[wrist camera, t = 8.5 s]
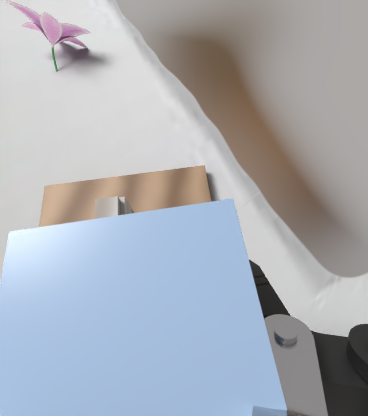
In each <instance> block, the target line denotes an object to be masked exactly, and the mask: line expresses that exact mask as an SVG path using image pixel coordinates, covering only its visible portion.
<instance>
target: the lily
mask: <svg viewBox="0 0 368 416" xmlns="http://www.w3.org/2000/svg"><path fill="white" fill-rule="evenodd" d="M6 2H7V3H9V4H10V5H12V6H13V7H15V8H16V9H18V10H19V11H21V12H22V13H23V14H25V15H26V16H27V17H28V18H29V19H30V20H31V21H32V22H33V23H34V24H33V23H31V22H28V23H24V24H23V25H22V26H23V27H27V28H31V29H35V30H38V31H41V32H42V33H43V34H44V35H45V36H46V38H47V39H48V40H49V42H50V43H51V46H52V55H53V60H54V65H55V68H56V71H58V70H57V66H56V62H55V57H54V45H55V44H57V43H60V42H63V41H70V42H73V43H75V44H78V45H80V46H83V47H85V48H87V47H86V46H85V45H84V44H83V43H82V42H81V41H79V40H78V39H76V38H73V37H76V36H79V35H82V34H88V33H90V32H89V31H88V30H86V29H83V28H81V27H78V26H75V25H72V24H68V23H59V22H58V21H57V20H56V19H55V18H54V17H52V16H51V15H50V14H48V13H43V14H42V15H41V16H40V15H39V14H37V13H36V12H35V11H33V10H31V9H29V8H27V7H24V6H22V5H20V4H17V3H14V2H10V1H6ZM87 49H88V48H87Z"/></svg>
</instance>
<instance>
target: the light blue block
mask: <svg viewBox="0 0 368 416" xmlns="http://www.w3.org/2000/svg"><path fill="white" fill-rule="evenodd" d="M253 406H258V407H264V408H270V409H279V410H287V407H286V403H285V399H284V395H283V392H282V388H281V384H280V380H279V376H278V372H277V368H276V364H275V360H274V356H273V353H272V349H271V345H270V341H269V337H268V333H267V329H266V325H265V321H264V317H263V314H262V310H261V306H260V302H259V298H258V294H257V290H256V286H255V282H254V278H253V274H252V271H251V267H250V263H249V259H248V255H247V251H246V247H245V243H244V239H243V235H242V232H241V228H240V224H239V220H238V216H237V212H236V208H235V204H234V200H233V198H232V199H226V200H219V201H212V202H206V203H199V204H192V205H185V206H179V207H172V208H165V209H159V210H152V211H145V212H138V213H132V214H125V215H118V216H112V217H105V218H98V219H91V220H85V221H78V222H71V223H65V224H58V225H51V226H44V227H38V228H31V229H24V230H18V231H11V232H9V236H8V242H7V248H6V254H5V259H4V265H3V271H2V277H1V282H0V416H252V410H253Z"/></svg>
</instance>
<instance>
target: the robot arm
mask: <svg viewBox="0 0 368 416" xmlns="http://www.w3.org/2000/svg"><path fill="white" fill-rule="evenodd" d="M249 263H250V267H251V271H252V274H253V278H254V282H255V286H256V290H257V294H258V298H259V302H260V306H261V310H262V314H263V317H264V321H265V325H266V329H267V333H268V337H269V341H270V345H271V349H272V353H273V356H274V360H275V364H276V368H277V372H278V376H279V380H280V384H281V388H282V392H283V395H284V399H285V403H286V407H287V410H279V409H270V408H264V407H258V406H253V410H252V416H368V324H360V325H357V326H355V327H353V328H352V329H351V330H350V332H349V336H348V337H343V336H335V335H328V334H321V333H317V332H313V331H311V330H310V329H309V328H308V327H307V326H306V325H305V324H304V323H303V322H301V321H300V320H298V319H296V318H294V317H291V316H290V314H289V313H288V311H287V310H286V308H285V306H284V305H283V303H282V302H281V300H280V299H279V297H278V295H277V294H276V292H275V291H274V289H273V287H272V286H271V284H270V283H269V281H268V279H267V278H266V277H265V275H264V273H263V272H262V270H261V268H260V267H259V266H258V265H257V264H255V263H254V262H252V261H251V260H249Z"/></svg>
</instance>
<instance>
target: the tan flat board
mask: <svg viewBox="0 0 368 416" xmlns="http://www.w3.org/2000/svg"><path fill="white" fill-rule="evenodd" d="M206 202H212V201H211V196H210V191H209V186H208V180H207V175H206V170H205V165H204V166H196V167H188V168H180V169H173V170H165V171H157V172H149V173H142V174H134V175H126V176H118V177H111V178H103V179H95V180H87V181H80V182H72V183H64V184H56V185H49V186H45V188H44V195H43V202H42V210H41V217H40V224H39V227H44V226H51V225H58V224H65V223H71V222H78V221H85V220H91V219H98V218H105V217H112V216H118V215H125V214H132V213H138V212H145V211H152V210H159V209H165V208H172V207H179V206H185V205H192V204H199V203H206Z"/></svg>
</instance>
